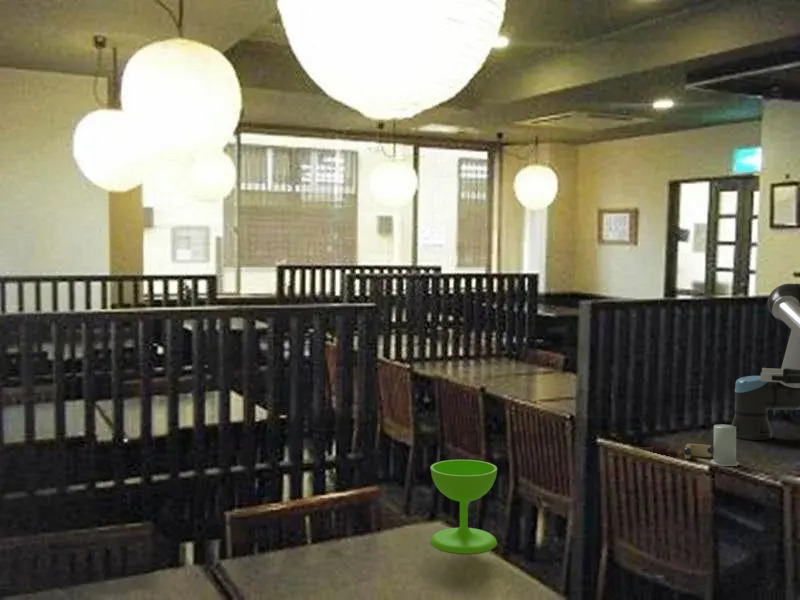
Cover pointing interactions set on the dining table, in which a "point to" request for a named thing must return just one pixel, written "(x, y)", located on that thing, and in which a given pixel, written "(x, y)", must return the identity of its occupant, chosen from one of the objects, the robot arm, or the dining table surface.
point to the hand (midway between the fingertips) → (761, 374)
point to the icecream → (661, 451)
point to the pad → (723, 464)
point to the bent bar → (698, 450)
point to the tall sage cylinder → (724, 444)
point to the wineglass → (463, 503)
